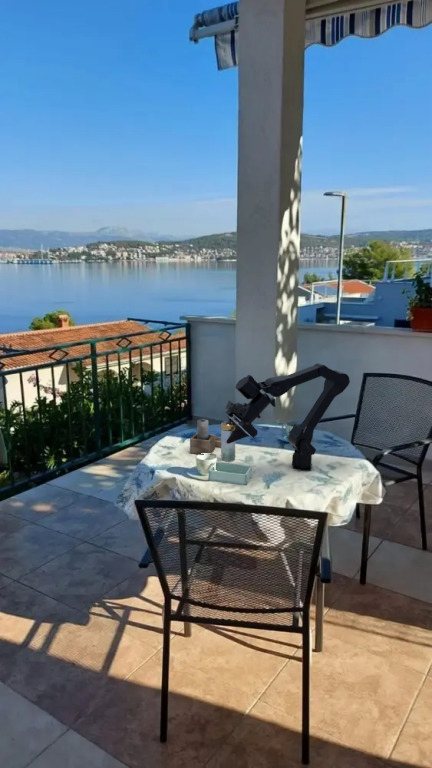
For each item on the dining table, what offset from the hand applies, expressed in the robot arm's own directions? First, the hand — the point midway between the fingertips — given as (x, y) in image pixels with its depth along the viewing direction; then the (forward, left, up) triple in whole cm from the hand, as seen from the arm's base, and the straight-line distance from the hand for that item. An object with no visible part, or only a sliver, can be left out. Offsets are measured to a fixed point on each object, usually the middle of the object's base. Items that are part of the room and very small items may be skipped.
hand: (224, 440), depth 173 cm
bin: (+14, -20, -13) cm, 28 cm away
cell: (-1, -1, -7) cm, 7 cm away
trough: (-3, +2, -13) cm, 13 cm away
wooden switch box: (+11, -29, -13) cm, 34 cm away
